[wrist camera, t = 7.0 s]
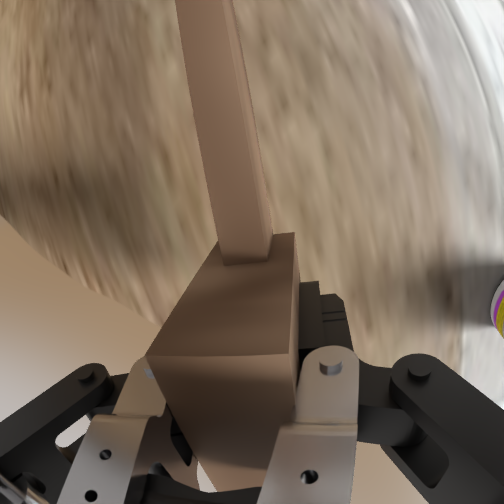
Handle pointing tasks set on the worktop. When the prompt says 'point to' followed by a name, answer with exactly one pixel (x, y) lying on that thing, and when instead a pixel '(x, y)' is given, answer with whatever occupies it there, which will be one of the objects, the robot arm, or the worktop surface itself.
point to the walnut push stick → (230, 277)
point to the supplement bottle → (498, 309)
